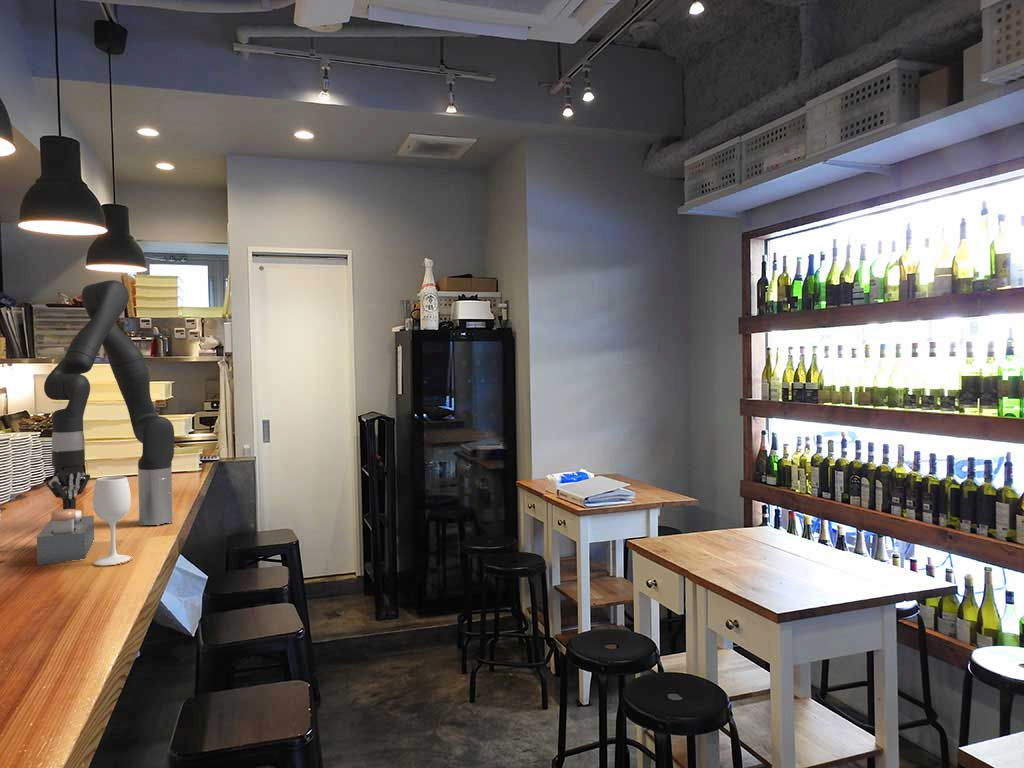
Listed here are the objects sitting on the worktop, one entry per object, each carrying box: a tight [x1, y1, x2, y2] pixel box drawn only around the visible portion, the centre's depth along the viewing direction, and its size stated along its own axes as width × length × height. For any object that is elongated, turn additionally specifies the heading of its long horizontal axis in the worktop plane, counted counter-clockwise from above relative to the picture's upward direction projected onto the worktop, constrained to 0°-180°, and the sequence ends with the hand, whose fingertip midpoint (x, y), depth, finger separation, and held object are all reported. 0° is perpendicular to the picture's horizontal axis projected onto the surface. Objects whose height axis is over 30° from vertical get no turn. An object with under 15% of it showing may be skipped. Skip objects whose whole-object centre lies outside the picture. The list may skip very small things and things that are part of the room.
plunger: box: [50, 508, 76, 534], centre depth 178 cm, size 5×5×7 cm
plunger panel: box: [36, 515, 95, 566], centre depth 184 cm, size 10×22×7 cm, turn 26°
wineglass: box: [92, 475, 132, 565], centre depth 175 cm, size 9×9×21 cm
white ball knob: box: [74, 509, 83, 522], centre depth 189 cm, size 5×5×7 cm
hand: (69, 512), depth 189 cm, fingers closed
